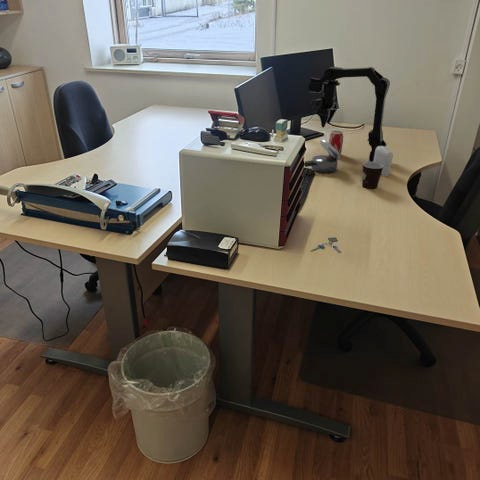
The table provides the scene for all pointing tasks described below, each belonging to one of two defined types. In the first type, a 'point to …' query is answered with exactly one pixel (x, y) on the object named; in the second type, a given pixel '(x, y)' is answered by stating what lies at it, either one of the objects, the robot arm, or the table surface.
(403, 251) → the table surface
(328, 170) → the pressure cooker pot
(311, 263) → the table surface
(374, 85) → the robot arm
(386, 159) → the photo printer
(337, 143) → the soda can
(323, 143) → the cooker lid
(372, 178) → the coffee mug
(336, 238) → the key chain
